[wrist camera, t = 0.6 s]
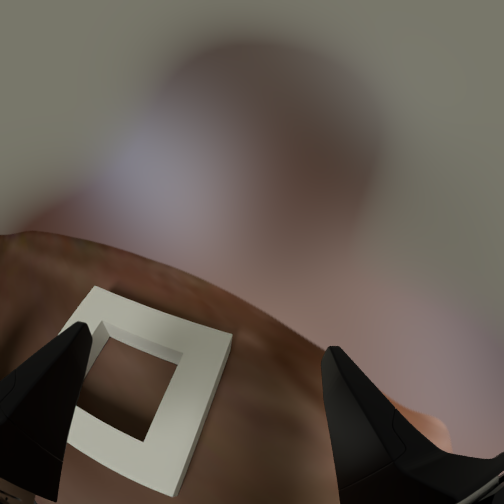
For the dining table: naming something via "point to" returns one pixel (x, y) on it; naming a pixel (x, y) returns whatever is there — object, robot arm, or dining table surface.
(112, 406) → the dining table surface
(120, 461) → the grey block
